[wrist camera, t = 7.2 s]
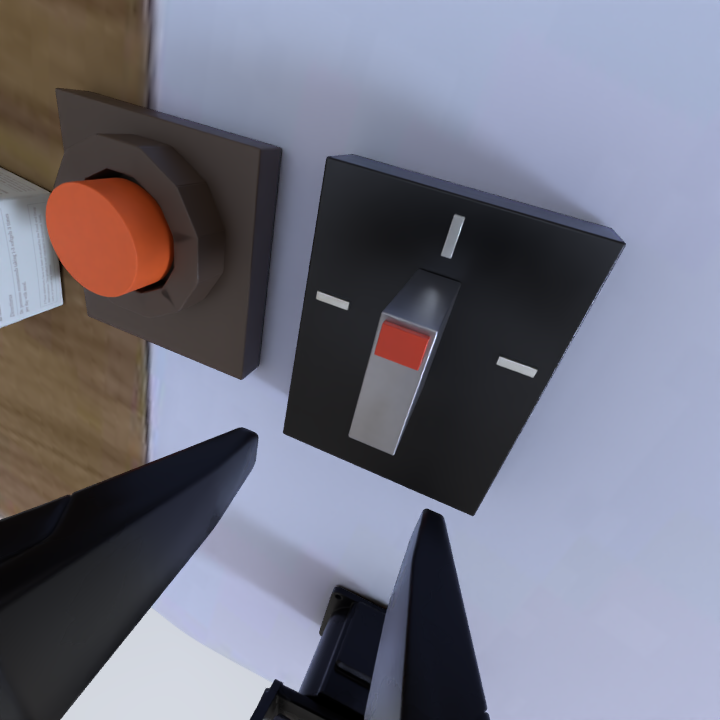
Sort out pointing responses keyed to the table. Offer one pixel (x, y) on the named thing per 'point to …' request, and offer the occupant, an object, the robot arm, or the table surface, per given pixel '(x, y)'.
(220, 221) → the brown button base
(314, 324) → the hob panel
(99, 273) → the button
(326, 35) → the table surface
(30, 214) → the white packaging box
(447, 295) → the burner knob
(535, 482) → the table surface
